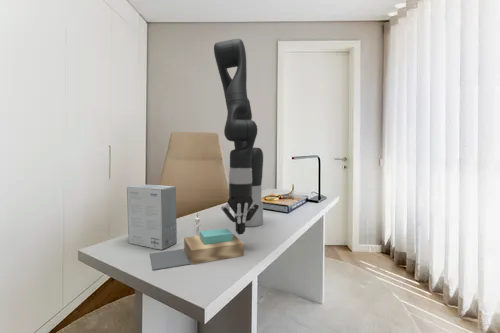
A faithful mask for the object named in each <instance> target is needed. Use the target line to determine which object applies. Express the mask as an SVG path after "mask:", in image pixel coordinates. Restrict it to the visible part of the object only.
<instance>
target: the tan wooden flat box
mask: <svg viewBox="0 0 500 333" xmlns="http://www.w3.org/2000/svg"><path fill="white" fill-rule="evenodd" d="M244 246H245V244H244V242H243V241H242V240H241V239H239V238H238V237H237V236H236V235H235V234H234V233H233V241H229V242H222V243H215V244H208V245H204V244H203V242H202V241H201V240H200V236H195V235H194V236H187V237H183V251H184V253H185V255H186V257H187V259H188V261H189V263H190V265H196V264H200V263H208V262H214V261H220V260H225V259H226V260H227V259H232V258H238V257H239V258H240V257H244V251H245V250H244V249H245V248H244Z"/></svg>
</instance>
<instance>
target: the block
mask: <svg viewBox="0 0 500 333" xmlns="http://www.w3.org/2000/svg"><path fill="white" fill-rule="evenodd" d="M199 232H200V240H201V241H202V242H203V244H204V245H208V244H215V243H222V242H229V241H233V234H234V233H232V232H231V231H230V230H229V229H228V228H227V227H226V228H217V229H210V230H209V229H208V230H199Z"/></svg>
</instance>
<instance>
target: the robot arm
mask: <svg viewBox="0 0 500 333" xmlns="http://www.w3.org/2000/svg"><path fill="white" fill-rule="evenodd" d="M213 53H214V54H213V55H214V58H215V62H216V66H217V71H218V74H219V76H220V80H221V84H222V89H223V93H224V98H225V104H226V110H227V116H226V121H225V124H224V131H223V135H224V137H225V138H226V140H227V141H228V142H233V143H234V144H233V146H234V149H232V150H230V153H229V171H228V172H229V173H228V200H227V203H226V204H225V205H222V206H221V207H220V208H221V211H222V212H223V213H224V214H225V216H226V217H227V218H228V219H229V220H230V221H231V222H232V223H235V233H237V235H244V233H245V232H246V227H249V228H250V227H259V226H261V225H264V203H263V201H262V181H263V169H264V168H263V166H264V152H263V150H262V148H260V147H254V145H255V142H256V138H257V135H258V125H257V124H256V121H254V120H252V118H253V114H252V107H251V102H250V100H249V98H248V92H247V91H248V90H247V73H248V72H247V69H248V68H247V52H246V47H245V44H244V42H243V39H241V38H233V39H228V40H223V41H222V40H221V41H217V42H216V43H214V45H213ZM232 68H236V71H235V73H234V75H233V77H231V75H230V73H229V71H228V69H232ZM230 211H232V212H233V214H232V213H231V212H230ZM233 215H234V216H233Z"/></svg>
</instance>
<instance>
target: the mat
mask: <svg viewBox="0 0 500 333" xmlns="http://www.w3.org/2000/svg"><path fill="white" fill-rule="evenodd" d="M149 257H150V263H151V268H152V271H159V270H166V269H171V268H178V267H183V266H184V267H185V266H189V265H191V262H190V260H189V258H188V256H187V254H186V252H185V250H184V248H180V249H173V250H165V251H159V252H158V251H157V252H153V253H149Z"/></svg>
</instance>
